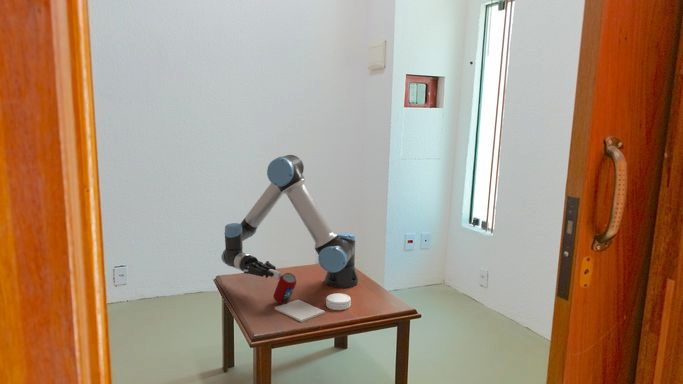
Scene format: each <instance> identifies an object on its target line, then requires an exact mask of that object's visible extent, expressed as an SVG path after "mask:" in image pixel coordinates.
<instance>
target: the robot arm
mask: <svg viewBox="0 0 683 384" xmlns="http://www.w3.org/2000/svg"><path fill="white" fill-rule="evenodd" d="M304 169H305V166H304V163H303V160H302V159H301V158H300V157H298V156H297V155H293V154H287V155H283V156H278V157H276V158H274V159H273V160H271V161H270V162H269V164H268V166H267V169H266V170H267V171H266V176H267V178H268V181H270V184H269V186H267V188H266V189H265V190H264V191H263V193H262V194H261V196H260V197H259V198H258V199H257V201H256V202H255V203H254V205H253V206H252V207H251V209H250V210H249V211H248V213H247V214H246V215H245V217H244V218H243V220H242V221H241V222H240V223H237V222H232V223H227V224H225V226H224V243H225V249H224V250H223V251H222V254H221V257H220V258H221V261H222V263H223V264H225V265H227V266H229V267H232V268H235V269H237V270H239V271H242V272H243V274H246V275H247V274H249V275H253V276H257V277H262V278H263V277H264V276H265V278H267V279H268V278H269V277H271V278H273V279H276V280H278V281H279V280H280V277H281V276H282V272H281V271H278V270H276V269H277V268H276V266H275V265H273V264H272V263H271V262H270V261H268V260H267V261H265V262H262V261H260V260H258V258H257V257H256V256H253V255H251V254H248V253H245V252H243V250H244V249H243V246H244V245H243V242H244V241H245V240H248V239H249V238H251V237H253V236H254V234H256V233H257V231H258V227H259V226H260V224H262V222H263V221H264V220H265V219H266V218H267V217H268V215H269V213H270V212H271V211H272V210H273V208H274V207H275V206H276V204H277V203H278V201H280V199H281V198H282V197H283V195H286V197H287V198H288V199H289V201H290V202H291V204H292V206H293V208H294V209H295V211H296V213H297V214H298V216H299V217H300V219H301V222H302V223H303V225H304V226H305V228H306V229H307V231H308V233H309V235H310V236H311V238H312V240H313V241H314V250H315V252H316V253H317V255H318V257H317V261H318V264H319V266H320V268H322V269H323V270H324V271H325V272H326V274H325V276H324V283H325V284H326V285H328V286H330V287H334V288H341V289H342V288H343V289H345V288H351V287H355V286H357V285H358V284H359V277H358V273H357V270H356V266H355V260H356V241H357V240H356V236H355V234H353V233H350V232H333V231H332V229H331V227H330V225H329V224H328V222H327V221H326V219H325V218H324V216H323V214H322V212H321V210H320V209H319V207H318V205H317V204H316V202H315V200H314V199H313V197H312V196H311V193H310V192H309V190H308V188H307V187H306V185H305V181H306V178H305V177H304V172H305V171H304Z"/></svg>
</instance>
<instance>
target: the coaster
mask: <svg viewBox="0 0 683 384" xmlns="http://www.w3.org/2000/svg"><path fill="white" fill-rule="evenodd" d="M351 303H352V302H351V296H350V295H348V294H346V293H331V294H329V295H327V296H326V298H325V305H326V307H327V308H328V309H330V310H332V311H333V310H334V311H344V310H348V309H349V308H350V307H351V306H352V305H351Z"/></svg>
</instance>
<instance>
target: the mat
mask: <svg viewBox="0 0 683 384" xmlns="http://www.w3.org/2000/svg"><path fill="white" fill-rule="evenodd" d="M274 310H276V311H278V312H280V314H284V315H286V316H288V317H290V318H292V319H294V320H296V321H298V322H300V323H302V322H305V321H308V320H310V319H313V318H315V317H318V316H320V315H324V314H326V313H325V312H326V311H325V310H323V309H321V308H319V307H316V306H314V305H311V304H310V303H307V302H305V301H303V300H301V299H295V300H293V301H290V302H288V303H285V304H280V305H278V306H274Z"/></svg>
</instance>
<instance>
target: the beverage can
mask: <svg viewBox="0 0 683 384" xmlns="http://www.w3.org/2000/svg"><path fill="white" fill-rule="evenodd" d="M296 285H297V278H296V275H295V274H293V273H290V272H285V273H283V274H281V277H280V279H279V280H278V283H277V286H276V288H275V290H274V293H273V300H274V301H275V302H277V303H279V304H280V305H283V304H286V303H289V301H290V299H291V297H292V296H293V292H294V289H295V288H296Z"/></svg>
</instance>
